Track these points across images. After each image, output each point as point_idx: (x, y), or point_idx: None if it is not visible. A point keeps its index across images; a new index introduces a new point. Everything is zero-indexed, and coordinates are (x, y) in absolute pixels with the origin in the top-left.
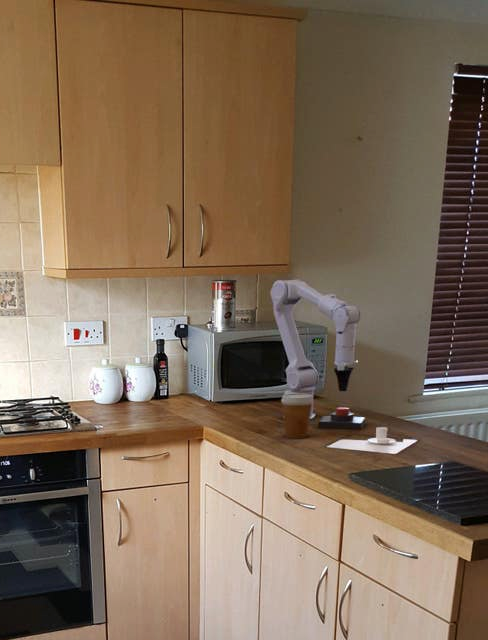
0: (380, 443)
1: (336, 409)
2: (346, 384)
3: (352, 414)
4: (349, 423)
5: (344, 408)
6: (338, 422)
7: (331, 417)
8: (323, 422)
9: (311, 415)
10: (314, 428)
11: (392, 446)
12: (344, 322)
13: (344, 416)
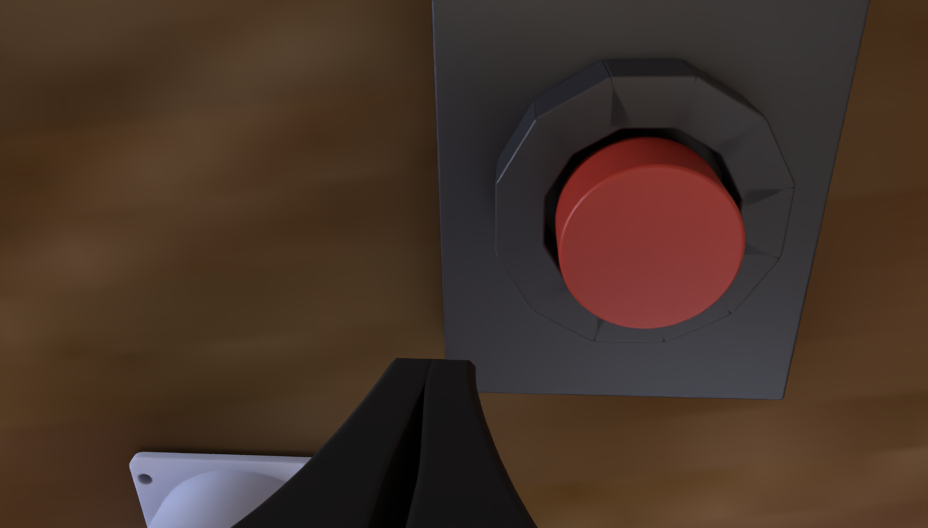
0: None
1: (685, 315)
2: (489, 443)
3: (697, 84)
4: (850, 75)
5: (667, 226)
6: (823, 208)
7: None
8: (792, 353)
9: (259, 480)
10: None
11: None
12: None
13: (790, 173)
